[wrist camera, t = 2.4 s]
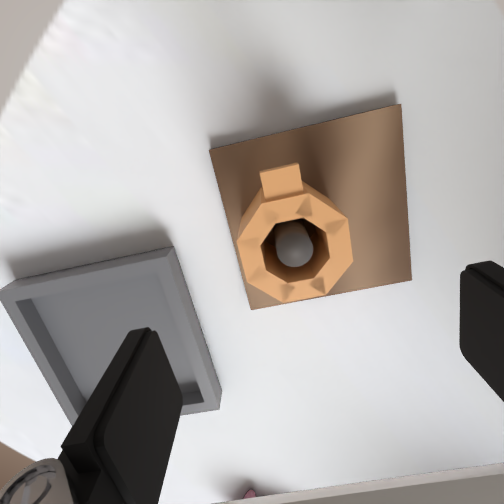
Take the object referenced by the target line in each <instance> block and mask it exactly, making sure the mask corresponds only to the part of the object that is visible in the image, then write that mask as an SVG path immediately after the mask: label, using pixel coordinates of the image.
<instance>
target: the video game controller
mask: <svg viewBox="0 0 504 504" xmlns="http://www.w3.org/2000/svg"><path fill="white" fill-rule="evenodd" d="M254 497H256V494H255V492H254V490H249V491H248V492H247V493H246V494H245V496H244V498H243V499H247V498H254Z"/></svg>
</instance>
